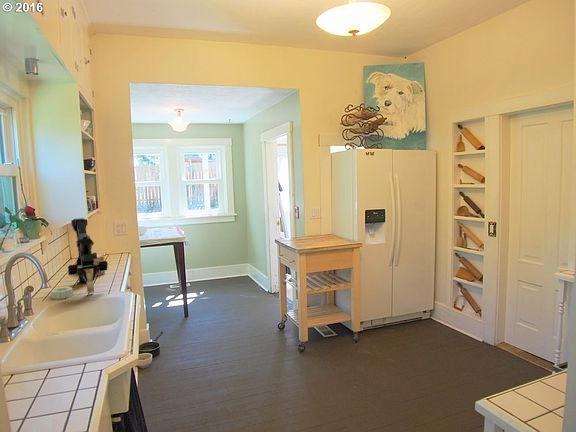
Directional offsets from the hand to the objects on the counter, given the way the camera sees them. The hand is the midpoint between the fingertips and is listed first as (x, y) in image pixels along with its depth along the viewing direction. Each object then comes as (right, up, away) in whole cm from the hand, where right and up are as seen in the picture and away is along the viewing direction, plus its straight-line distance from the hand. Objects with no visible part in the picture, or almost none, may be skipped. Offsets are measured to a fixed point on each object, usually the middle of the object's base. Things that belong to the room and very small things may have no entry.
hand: (90, 280), depth 201 cm
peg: (-1, -7, +2) cm, 7 cm away
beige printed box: (-27, -5, +54) cm, 61 cm away
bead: (-14, -8, 0) cm, 17 cm away
